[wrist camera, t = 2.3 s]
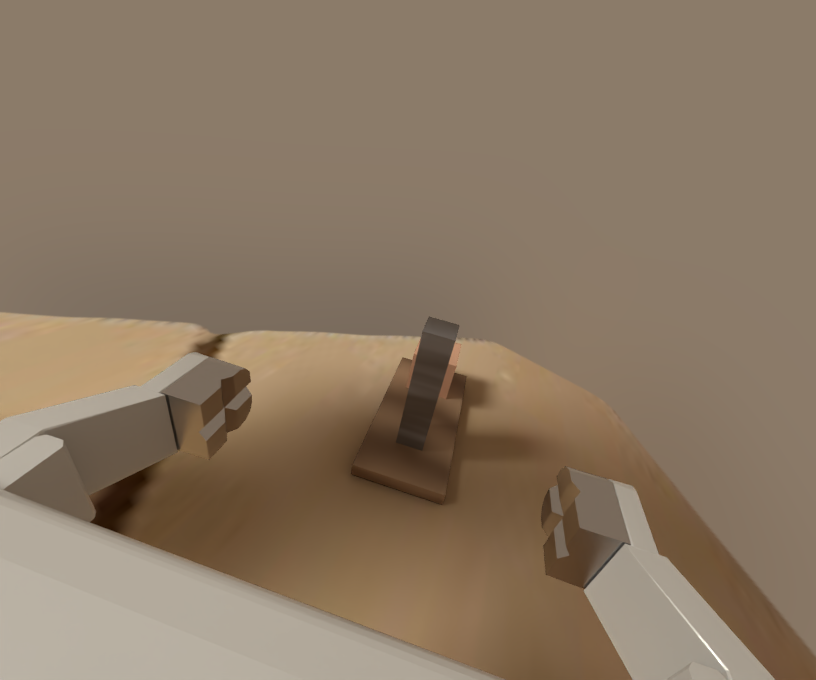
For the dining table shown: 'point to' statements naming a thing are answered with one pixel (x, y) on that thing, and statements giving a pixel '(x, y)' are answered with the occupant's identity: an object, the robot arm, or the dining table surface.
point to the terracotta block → (449, 370)
